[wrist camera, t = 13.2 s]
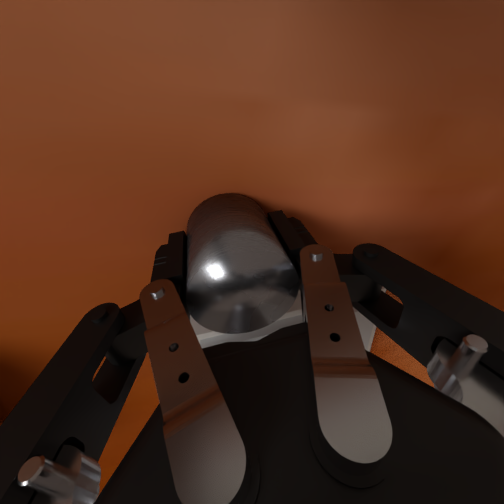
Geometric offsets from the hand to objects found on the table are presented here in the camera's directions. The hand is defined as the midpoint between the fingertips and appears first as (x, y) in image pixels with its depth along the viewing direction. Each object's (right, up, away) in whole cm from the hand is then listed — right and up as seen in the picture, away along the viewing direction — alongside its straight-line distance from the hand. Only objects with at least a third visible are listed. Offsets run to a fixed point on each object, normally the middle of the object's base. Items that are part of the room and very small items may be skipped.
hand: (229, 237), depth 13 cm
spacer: (0, 0, 0) cm, 1 cm away
